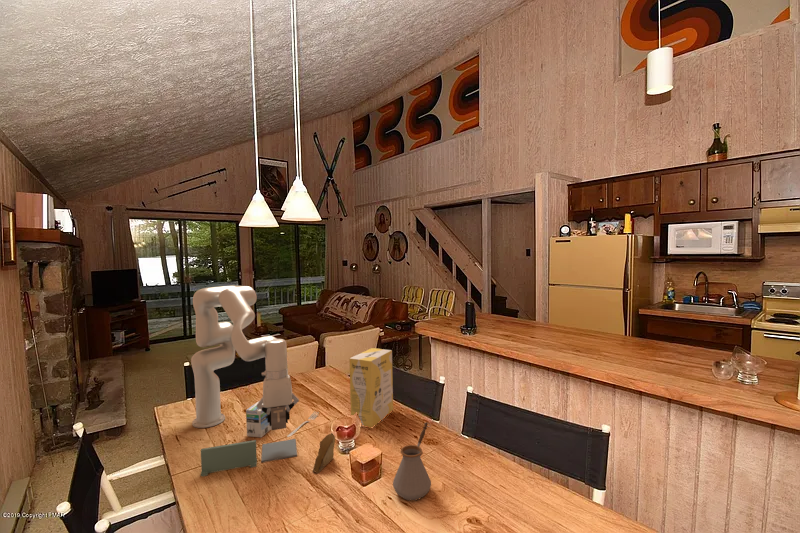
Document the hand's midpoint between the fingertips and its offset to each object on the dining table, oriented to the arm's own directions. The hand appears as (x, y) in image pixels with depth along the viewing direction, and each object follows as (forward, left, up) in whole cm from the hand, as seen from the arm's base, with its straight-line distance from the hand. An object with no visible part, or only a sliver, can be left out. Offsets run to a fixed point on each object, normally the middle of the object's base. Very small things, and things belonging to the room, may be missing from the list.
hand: (278, 422), depth 137 cm
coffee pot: (+35, +41, -11) cm, 55 cm away
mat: (0, 0, -11) cm, 11 cm away
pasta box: (-15, +39, -11) cm, 43 cm away
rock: (+14, +14, -11) cm, 23 cm away
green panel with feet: (+6, -16, -11) cm, 20 cm away
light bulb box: (-19, -7, -11) cm, 23 cm away
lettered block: (0, 0, -1) cm, 1 cm away
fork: (-18, +9, -11) cm, 23 cm away
